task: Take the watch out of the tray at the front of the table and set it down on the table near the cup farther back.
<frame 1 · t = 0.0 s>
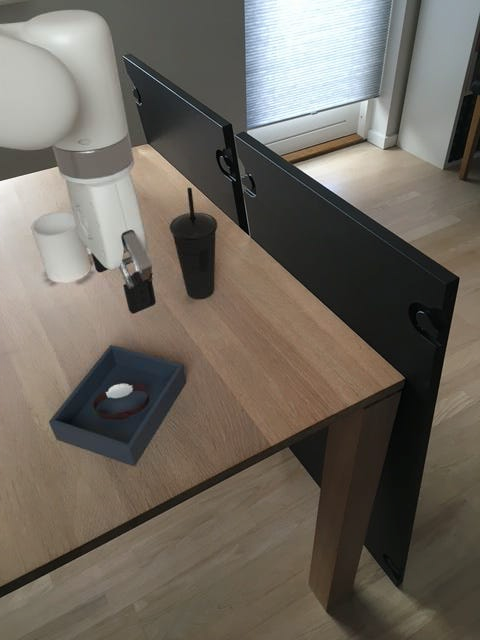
hand: (125, 287, 65), 20 cm above the table, tool pointing down, fingers open, 9 cm apart
tray: (124, 409, 76), on the table
drinking cup: (200, 291, 96), on the table
cup: (79, 268, 102), on the table
watch: (124, 408, 76), resting on tray
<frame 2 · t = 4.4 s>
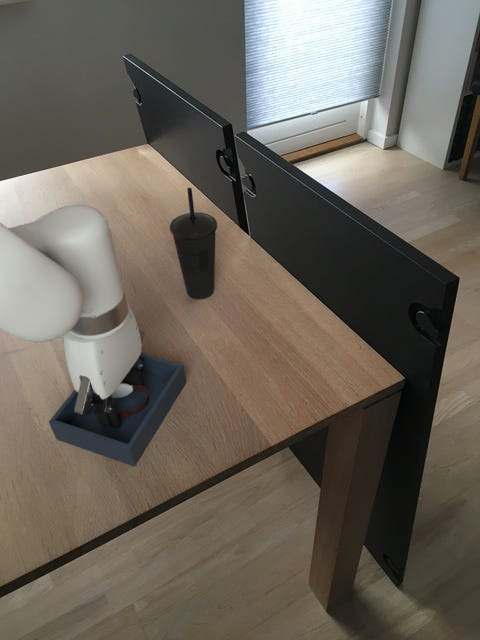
hand: (122, 405, 75), 1 cm above the table, tool pointing down, fingers closed on watch, 6 cm apart
watch: (124, 408, 76), resting on tray, touching gripper
everything else where it was.
when the fingers open (1 cm above the table, at t = 11.6 s): watch stays where it is, on the table.
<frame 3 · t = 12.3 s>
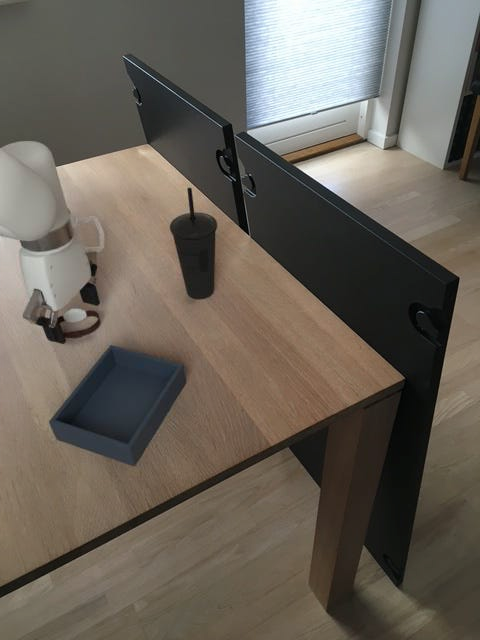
hand: (74, 321, 88), 2 cm above the table, tool pointing down, fingers open, 9 cm apart
watch: (78, 330, 89), on the table
everything else where it was.
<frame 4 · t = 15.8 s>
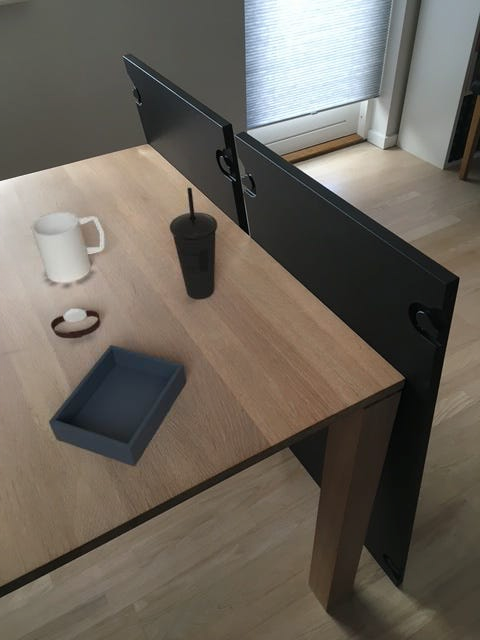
nothing on the table moved.
at the end: watch inside the target area (0.1 cm from its centre), on the table; watch 18.1 cm from the cup (horizontally); the gripper is holding nothing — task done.
